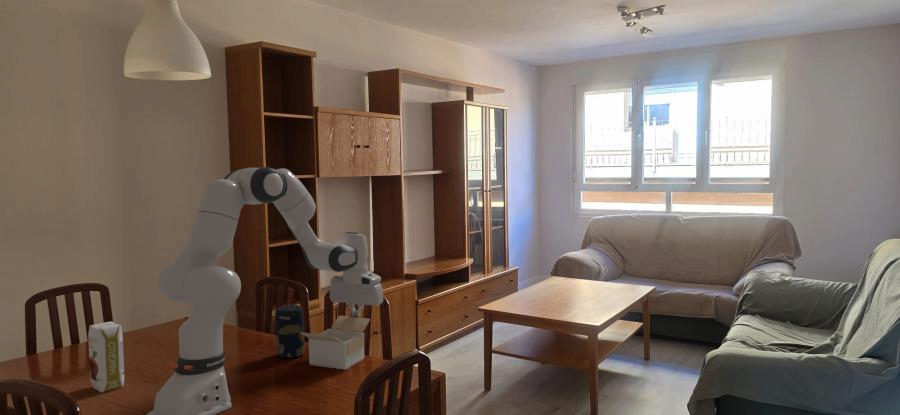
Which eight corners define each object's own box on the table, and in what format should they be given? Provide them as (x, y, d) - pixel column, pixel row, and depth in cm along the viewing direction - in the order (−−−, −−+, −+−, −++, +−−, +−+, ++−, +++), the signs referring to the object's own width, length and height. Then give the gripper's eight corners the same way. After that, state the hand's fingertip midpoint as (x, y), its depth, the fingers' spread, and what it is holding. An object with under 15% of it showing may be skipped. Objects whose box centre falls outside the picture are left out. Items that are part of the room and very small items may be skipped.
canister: (308, 351, 207) (307, 301, 205) (299, 360, 197) (297, 308, 196) (282, 350, 208) (281, 301, 206) (271, 359, 198) (270, 307, 197)
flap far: (369, 318, 203) (370, 319, 203) (339, 315, 207) (339, 316, 208) (362, 330, 198) (362, 332, 199) (331, 327, 203) (331, 328, 203)
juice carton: (115, 380, 179) (112, 319, 178) (127, 386, 174) (124, 324, 173) (88, 387, 174) (85, 325, 172) (99, 394, 168) (96, 330, 167)
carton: (346, 370, 187) (346, 343, 187) (308, 364, 193) (307, 338, 192) (365, 358, 198) (365, 332, 198) (328, 353, 204) (327, 328, 203)
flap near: (300, 332, 186) (300, 333, 186) (333, 336, 182) (333, 337, 182) (310, 337, 191) (310, 338, 191) (342, 341, 187) (342, 342, 187)
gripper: (325, 276, 206) (326, 315, 207) (376, 280, 199) (377, 320, 200) (335, 273, 212) (336, 310, 213) (385, 277, 205) (385, 315, 206)
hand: (356, 315), depth 206 cm, fingers closed
